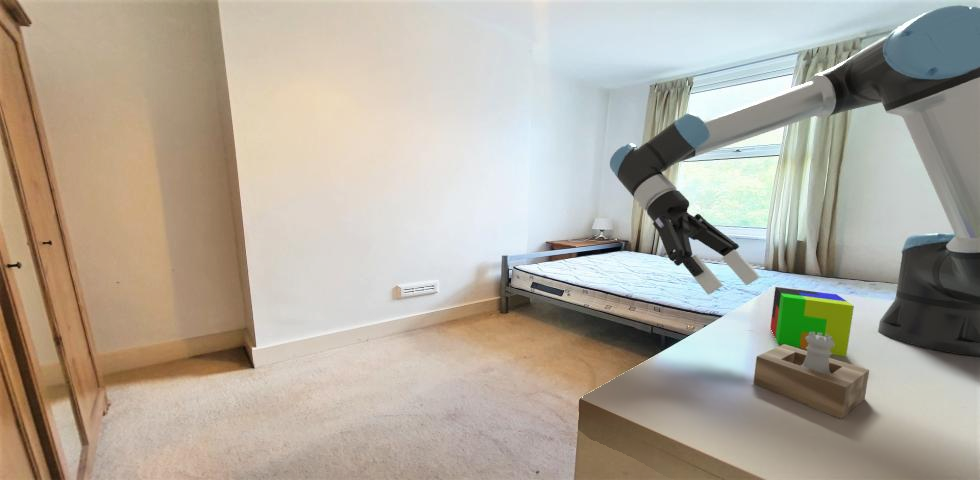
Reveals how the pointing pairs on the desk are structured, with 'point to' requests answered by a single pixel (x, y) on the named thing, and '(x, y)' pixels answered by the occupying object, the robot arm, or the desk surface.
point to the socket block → (811, 380)
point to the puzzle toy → (811, 318)
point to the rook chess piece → (818, 352)
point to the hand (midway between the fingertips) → (735, 285)
